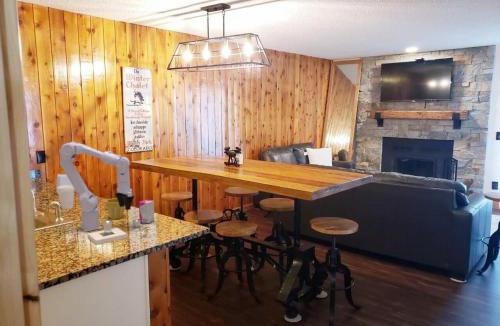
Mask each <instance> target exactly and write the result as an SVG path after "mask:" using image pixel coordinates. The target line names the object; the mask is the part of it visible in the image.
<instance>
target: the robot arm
mask: <svg viewBox="0 0 500 326" xmlns="http://www.w3.org/2000/svg"><path fill="white" fill-rule="evenodd" d="M58 153H59V164H60V165H61V167H60V168H61V169H62V168H63V170H64V172H65V173H66V175H67V177H68V178H69V180H70V182H71V184H72V185H73V187H74V189H75V192H76V194H77V196H78V201H79V203H80V209H81V210H82V212H81V215H80V216H81V225H80V226H79V228H80V229H82V230H83V231H85V232H90V231H96V230H100V229H103V227H102V226H101V225H100V218H99V208H98V207H99V203H100V201H99V198H98V197H96V196H95V195H94V193H93V192H92V191H90V189H89V188H88V187H87V185H86V183H85V181H84V179H83V178H82V176H81V175H80V173H79V171H78V170H77V168H76V166H75V165H74V161H75V158H76V156H77V155H81V154H83V155H88V156H91V157H93V158H97V159H100V161H101V162H102V163H103V164H107V165H109V166H111V167H116V169H117V174H116V175H117V187H116V192H115V193H114V196H115V198H117V199H118V203H119V206H120V207H123V206H124V205H125V206H124V210H126V211H129V210H131V207H132V205H133V201H134V199H135V195H133V189H132V188H131V181H130V179H131V178H130V177H131V176H130V175H131V174H130V165H131V161H130V159H129V158H128V157H126V156H122V155H120V154H119V155H118V154H115V153H113V152H112V151H111V150H109V151H108V150H107V151H104V152H103V151H99V150H98V149H95V148H92V147H90V146H88V145H86V144H83V143H81V142H80V143H79V142H76V141H70V142H68V143H63V144H62V146H61V147H60V149H59V151H58ZM60 165H59V166H60Z"/></svg>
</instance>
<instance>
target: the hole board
mask: <svg viewBox="0 0 500 326" xmlns="http://www.w3.org/2000/svg"><path fill="white" fill-rule="evenodd" d="M87 238H88V240H90V241H91V242H93V243H94V244H95V245H101V244H107V243H111V242H115V241H121V240H125V239H128V233H127V232H125V231H124V230H122V229H120V228H118V227H114V228H113V227H112V235H108V236H104V229H103V230H99V231H93V232H88V233H87Z"/></svg>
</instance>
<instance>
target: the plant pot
mask: <svg viewBox="0 0 500 326" xmlns="http://www.w3.org/2000/svg"><path fill="white" fill-rule="evenodd" d="M105 207H106V208H107V211H108V212H107V213H108V215H109V216H108V217H109V219H110V220H119V219H122V218H123V215H124V211H125V205H124V206H123V207H120V206H119V203H118V199H117V197H115V198H114V197H113V198H109V199H106V200H105Z"/></svg>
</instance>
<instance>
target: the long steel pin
mask: <svg viewBox="0 0 500 326" xmlns="http://www.w3.org/2000/svg"><path fill="white" fill-rule="evenodd" d="M112 220H113V219H105V220H103V230H104V236H108V235H112V229H113V221H112Z"/></svg>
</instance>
